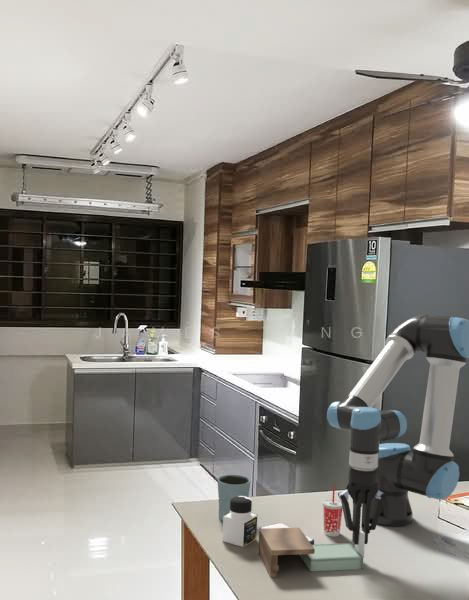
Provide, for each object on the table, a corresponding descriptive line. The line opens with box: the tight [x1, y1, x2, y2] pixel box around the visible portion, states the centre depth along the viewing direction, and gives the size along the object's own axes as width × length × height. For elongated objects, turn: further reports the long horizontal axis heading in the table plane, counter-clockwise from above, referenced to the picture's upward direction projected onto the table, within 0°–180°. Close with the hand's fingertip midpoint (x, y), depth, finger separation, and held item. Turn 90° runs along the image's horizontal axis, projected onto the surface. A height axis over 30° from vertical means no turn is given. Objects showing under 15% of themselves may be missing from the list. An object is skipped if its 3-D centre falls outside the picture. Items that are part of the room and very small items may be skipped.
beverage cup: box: [322, 485, 343, 537], centre depth 191 cm, size 6×6×14 cm
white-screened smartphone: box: [259, 522, 315, 545], centre depth 187 cm, size 9×2×16 cm
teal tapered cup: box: [217, 474, 251, 522], centre depth 200 cm, size 10×10×12 cm
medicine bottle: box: [221, 496, 258, 548], centre depth 183 cm, size 7×7×12 cm
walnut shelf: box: [258, 527, 315, 578], centre depth 169 cm, size 11×14×7 cm
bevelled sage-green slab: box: [300, 542, 364, 572], centre depth 171 cm, size 14×9×3 cm, turn 101°
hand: (359, 555), depth 173 cm, fingers closed
